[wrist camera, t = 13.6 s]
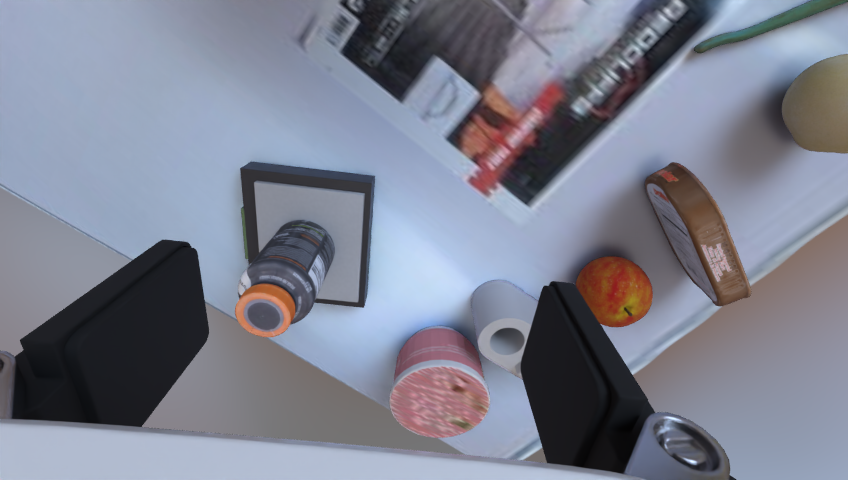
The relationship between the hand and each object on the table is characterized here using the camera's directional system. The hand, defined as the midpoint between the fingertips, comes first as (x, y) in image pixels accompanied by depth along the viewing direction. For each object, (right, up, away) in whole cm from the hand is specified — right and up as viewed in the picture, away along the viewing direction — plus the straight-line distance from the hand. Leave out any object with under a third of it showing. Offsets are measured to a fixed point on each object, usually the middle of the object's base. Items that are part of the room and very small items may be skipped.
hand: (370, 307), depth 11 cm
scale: (-10, +2, +30) cm, 32 cm away
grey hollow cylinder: (+15, -8, +35) cm, 39 cm away
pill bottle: (-10, +1, +28) cm, 30 cm away
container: (+3, -12, +37) cm, 39 cm away
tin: (+27, +4, +29) cm, 40 cm away
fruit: (+21, -2, +32) cm, 38 cm away
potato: (+35, +15, +24) cm, 45 cm away
